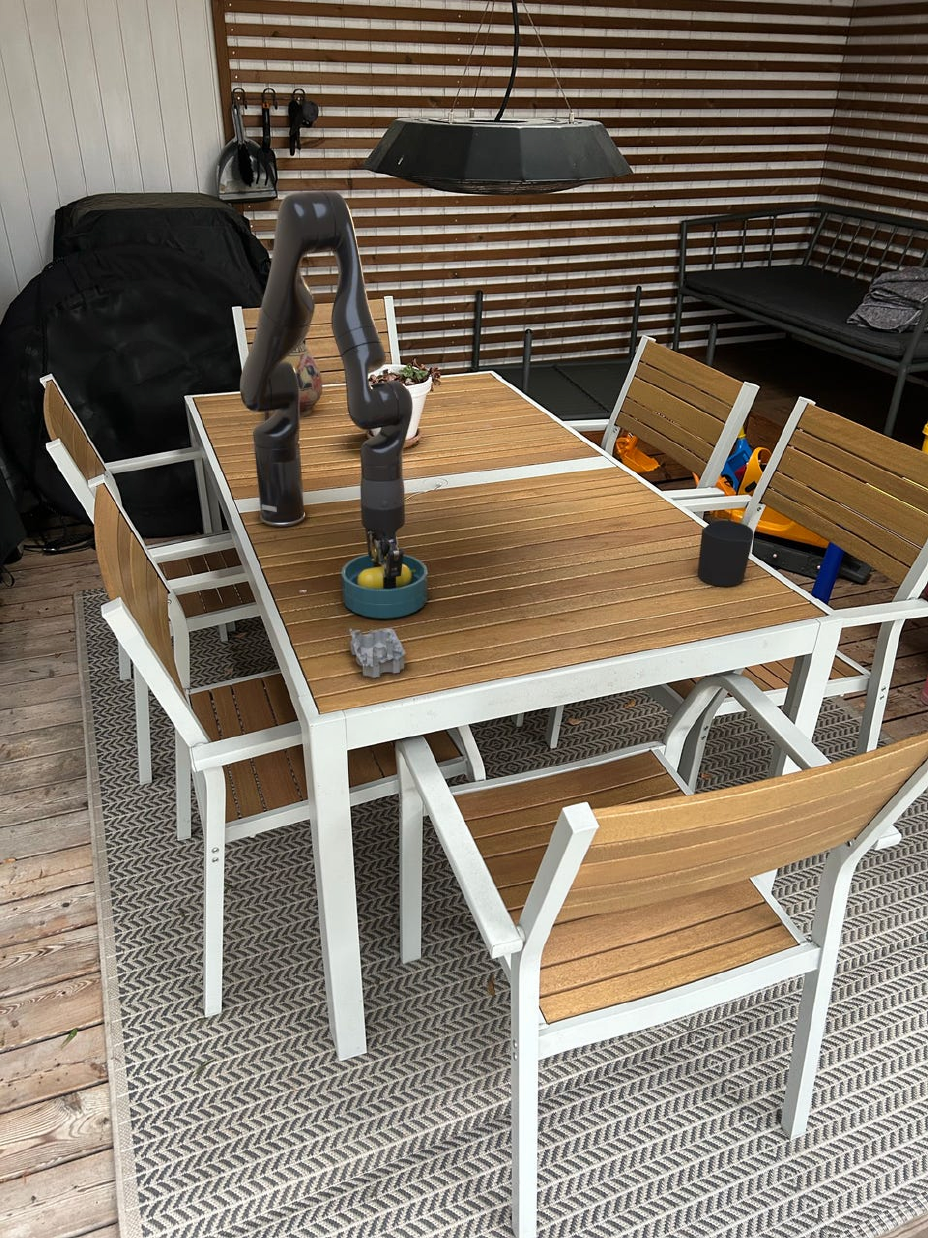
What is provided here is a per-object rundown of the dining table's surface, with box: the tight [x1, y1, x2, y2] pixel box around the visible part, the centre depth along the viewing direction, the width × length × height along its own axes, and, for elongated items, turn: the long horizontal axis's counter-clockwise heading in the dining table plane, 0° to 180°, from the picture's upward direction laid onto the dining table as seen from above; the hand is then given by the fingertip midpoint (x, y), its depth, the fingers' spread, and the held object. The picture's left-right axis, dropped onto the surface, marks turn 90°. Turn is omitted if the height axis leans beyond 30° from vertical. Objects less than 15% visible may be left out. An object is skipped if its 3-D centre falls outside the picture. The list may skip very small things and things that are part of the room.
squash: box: [357, 564, 416, 589], centre depth 170 cm, size 11×4×4 cm, turn 114°
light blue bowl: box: [341, 553, 428, 620], centre depth 171 cm, size 15×15×6 cm
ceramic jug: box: [283, 338, 323, 418], centre depth 263 cm, size 17×15×30 cm
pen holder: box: [697, 519, 755, 588], centre depth 181 cm, size 9×9×10 cm
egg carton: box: [348, 627, 407, 679], centre depth 153 cm, size 11×8×4 cm
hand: (384, 587), depth 171 cm, fingers closed on squash, 4 cm apart
